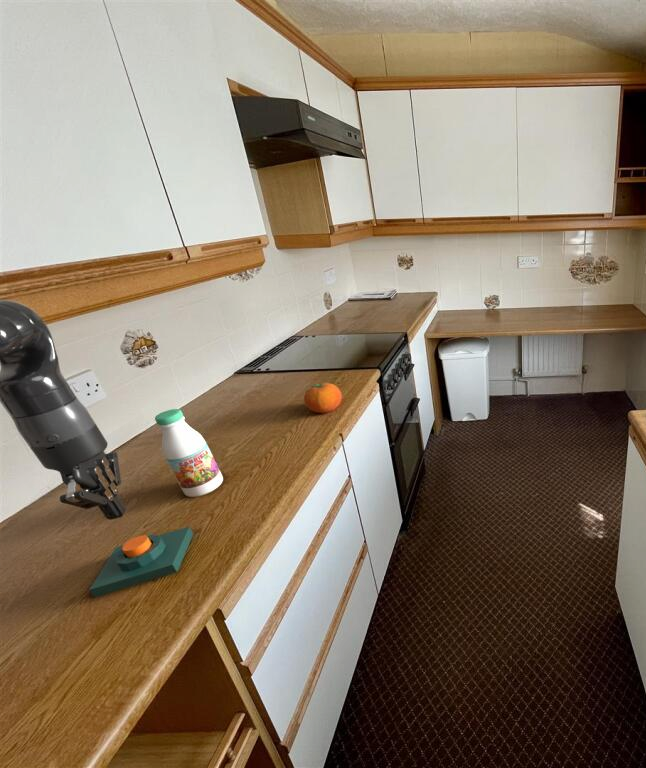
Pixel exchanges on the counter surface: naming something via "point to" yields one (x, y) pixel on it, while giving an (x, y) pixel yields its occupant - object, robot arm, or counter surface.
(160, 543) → the cap housing
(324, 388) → the fruit
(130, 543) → the orange push button
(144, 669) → the counter surface
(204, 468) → the milk bottle
